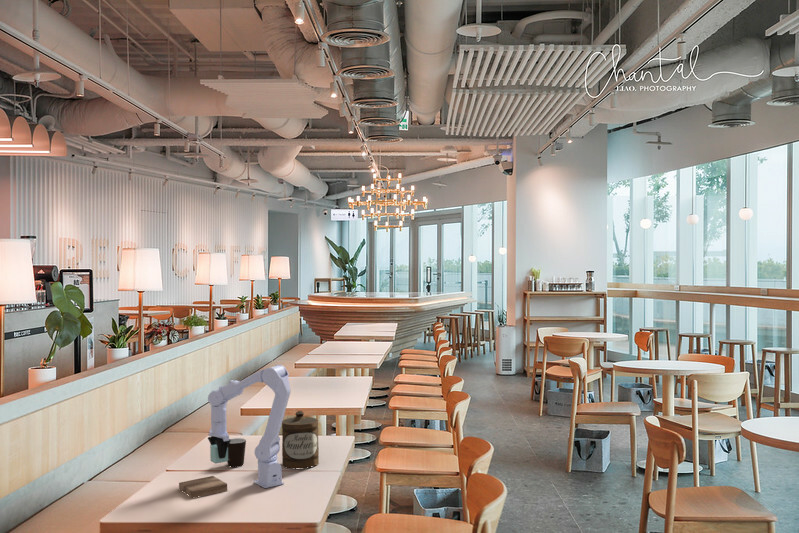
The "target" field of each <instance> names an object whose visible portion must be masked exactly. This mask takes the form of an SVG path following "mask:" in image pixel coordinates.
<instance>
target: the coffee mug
mask: <svg viewBox="0 0 799 533" xmlns="http://www.w3.org/2000/svg"><path fill="white" fill-rule="evenodd" d="M229 439H230V440H231V442H230V443H229V445H228V461H227V462H226V463H227V467H228V466H231V467H230V468H238V467H237V466H240V467H243V466H244V465H243V464H244V463H245V456H246V454H245V453H246V445H247V444H246V443H247V439H246V438H241V437H240V438H239V437H238V438H237V437H235V438H229ZM242 465H243V466H242Z"/></svg>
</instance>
